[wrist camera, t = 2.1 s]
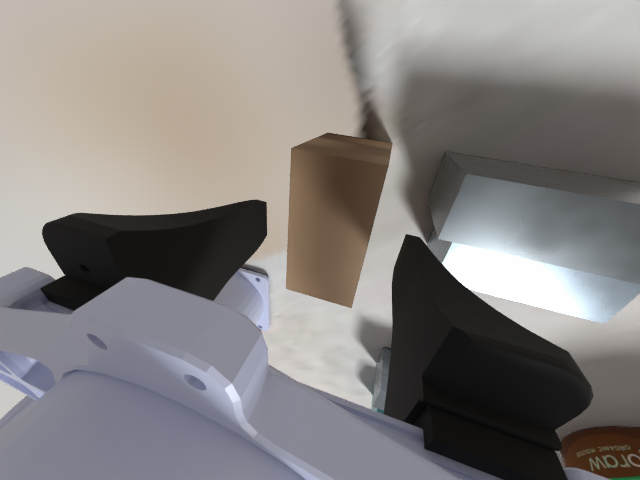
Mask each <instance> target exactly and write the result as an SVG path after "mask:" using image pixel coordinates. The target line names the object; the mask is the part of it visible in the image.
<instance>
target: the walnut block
mask: <svg viewBox="0 0 640 480" xmlns="http://www.w3.org/2000/svg"><path fill="white" fill-rule="evenodd" d="M391 148H392V143H388V142H382V141H376V140H370V139H363V138H358V137H352V136H345V135H339V134H333V133H326V134H324V135H321V136H319V137H317V138H314V139H312V140H310V141H307V142H305V143H303V144H300V145H298V146H295V147H293V148H291V173H290V198H289V224H288V225H289V226H288V249H287V275H286V289H289V290H292V291H296V292H299V293H302V294H306V295H309V296H312V297H316V298H319V299H322V300H326V301H329V302H332V303H336V304H339V305H343V306H346V307H349V308H352V304H353V300H354V296H355V292H356V289H357V285H358V281H359V277H360V273H361V269H362V266H363V262H364V258H365V254H366V250H367V246H368V242H369V239H370V235H371V231H372V227H373V223H374V219H375V216H376V212H377V208H378V204H379V200H380V196H381V192H382V189H383V185H384V181H385V177H386V173H387V169H388V165H389V160H390V154H391Z"/></svg>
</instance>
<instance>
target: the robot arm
mask: <svg viewBox="0 0 640 480" xmlns="http://www.w3.org/2000/svg"><path fill="white" fill-rule="evenodd" d="M42 235H43V238H44V242H45V243H46V245H47V247H48V249H49V251H50V252H51V254H52V256H53V257H54V259H55V260H56V262H57V263H58V265H59V267H60V268H61V270H62V271H63V273H64V274H65V276H63V277H61V278H59V279H57V280H55V279H54V278H52V277H51V276H49V275H48V274H45V273H42V272H40V271H37V270H34V269H31V268H28V267H24V268H22V269H19V270H17V271H15V272H13V273H10V274H8V275H6V276H3V277H1V278H0V380H1V381H3V382H4V383H6V384H8V385H10V386H12V387H14V388H15V389H17V390H19V391H20V392H22V393H24V394H26V395H27V396H26V397H25V398H24V399H22V400H21V401H20V402H19V403H18V404H17V405H16V406H14V407H13V408H12V409H11V410H10V411H9V412H8V413H7V414H6V415H5V416H4V417H3V418H2V419H1V420H0V480H610V479H607V478H604V477H602V476H599V475H596V474H594V473H591V472H588V471H585V470H582V469H578V468H570V467H564V468H562V466H561V463H560V461H559V459H558V457H557V454H556V452H555V450H556V451H559V450H561V449H562V444H561V442H560V440H559V438H558V436H557V434H556V432H555V430H556V429H557V428H559V427H560V426H562V425H564V424H565V423H567V422H568V421H570V420H572V419H573V418H575V417H576V416H578V415H580V414H581V413H582V412H583V411H584V410H585V409H586V408H588V406H589V405H590V403H591V400H592V398H593V392H592V388H591V385H590V384H589V382H588V381H587V379H586V378H585V376H584V375H583V373H582V372H581V370H580V369H579V367H578V366H577V364H576V363H575V361H574V360H573V358H572V357H571V355H570V354H569V352H567V351H566V350H564V349H562V348H560V347H558V346H556V345H555V344H553V343H551V342H549V341H547V340H545V339H543V338H542V337H540V336H538V335H536V334H534V333H532V332H531V331H529V330H527V329H525V328H524V327H522V326H521V325H519V324H517V323H516V322H514V321H512V320H511V319H509V318H508V317H506V316H504V315H503V314H501V313H500V312H498V311H497V310H495V309H494V308H493V307H491V306H490V305H488V304H487V303H486V302H484V301H483V300H482V299H480V298H479V297H478V296H476V295H475V294H474V293H472V292H471V291H470V290H469V289H468V288H467V287H465V286H464V285H463V284H462V283H461V282H460V281H458V280H457V279H456V278H455V277H454V276H453V275H452V274H451V273H450V272H449V271H448V270H447V269H446V268H445V267H444V266H443V264H442V263H441V262H440V261H439V260H438V259H437V258H436V256H435V255H434V254H433V253H432V252H431V250H430V249H429V248H428V247H427V245H426V244H425V243H424V242H423V241H422V239H421V238H420V237H416V236H412V235H407V234H406V236H405V238H404V241H403V244H402V247H401V250H400V253H399V255H398V258H397V261H396V264H395V267H394V272H393V279H392V316H393V333H392V344H391V355H390V365H389V374H388V382H387V391H386V399H385V407H384V414H382V413H379V412H376V411H374V410H371V409H368V408H366V407H363V406H360V405H358V404H355V403H353V402H350V401H347V400H345V399H342V398H339V397H337V396H334V395H331V394H329V393H326V392H323V391H321V390H318V389H316V388H313V387H310V386H308V385H305V384H302V383H300V382H297V381H296V380H294V379H292V378H291V377H289V376H287V375H286V374H284V373H282V372H281V371H279V370H277V369H275V368H274V367H272V366H270V365H268V348H267V345H266V343H265V340H264V338H263V335H262V332H261V330H263V331H268V330H269V328H270V311H269V278H268V277H267V276H266V275H263V274H260V273H256V272H253V271H249V270H246V269H243V268H241V267H242V266H243V264H244V263H245V262H246V261H247V260H248V259H249V258H250V257H251V256H252V255H253V254H254V253H255V251H256V250H257V249H258V248H259V247H260V245H261V244H262V242H263V241H264V239H265V237H266V236H267V207H266V202H264V201H260V200H248V201H243V202H238V203H234V204H230V205H225V206H221V207H216V208H211V209H206V210H200V211H195V212H187V213H178V214H166V215H145V216H131V215H104V214H89V213H75V214H71V215H68V216H65V217H63V218H60V219H57V220H54V221H51V222H48V223H46V224H45V225H44V227H43V230H42Z"/></svg>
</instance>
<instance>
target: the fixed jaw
mask: <svg viewBox="0 0 640 480" xmlns="http://www.w3.org/2000/svg"><path fill="white" fill-rule="evenodd" d="M427 202H428V205H429V209H430V213H431V216H432V220H433V223H434V228H433V231H432V233H431V236H430V238H429V240H428V243H427V247H428V248H429V249H430V250H431V252H432V253H433V254H434V255H435V256H436V258H437V259H438V260H439V261H440V262H441V263H442V264H443V266H444V267H445V268H446V269H447V270H448V271H449V272H450V273H451V274H452V275H453V276H454V277H455V278H456V279H457V280H458V281H460V282H461V283H462V284H463V285H464V286H465V287H467V288H468V289H471V290H475V291H478V292H482V293H486V294H490V295H494V296H498V297H502V298H506V299H509V300H513V301H517V302H521V303H525V304H529V305H533V306H536V307H540V308H544V309H548V310H552V311H556V312H560V313H564V314H567V315H571V316H575V317H579V318H583V319H587V320H591V321H595V322H598V323H602V324H605V323H606V322H607V321H608V320H609V319H610V318H612V317H613V316H614V315H615V314H616V313H617V312H619V311H620V310H621V309H622V308H623V307H624V306H626V305H627V304H628V303H629V302H630V301H631V300H633V299H634V298H635V297H636V296H637V295H638V294H640V183H638V182H632V181H626V180H619V179H613V178H607V177H601V176H594V175H588V174H582V173H576V172H569V171H563V170H557V169H550V168H544V167H538V166H532V165H525V164H519V163H513V162H507V161H500V160H494V159H488V158H482V157H475V156H469V155H463V154H456V153H450V152H446V153H445V155H444V158H443V160H442V163H441V166H440V168H439V171H438V174H437V176H436V179H435V182H434V184H433V187H432V190H431V192H430V195H429V197H428V200H427Z"/></svg>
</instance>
